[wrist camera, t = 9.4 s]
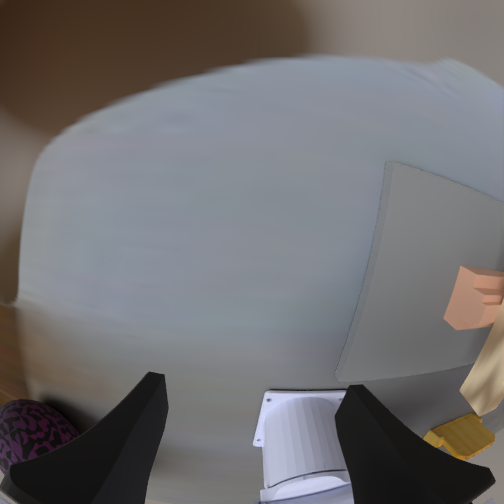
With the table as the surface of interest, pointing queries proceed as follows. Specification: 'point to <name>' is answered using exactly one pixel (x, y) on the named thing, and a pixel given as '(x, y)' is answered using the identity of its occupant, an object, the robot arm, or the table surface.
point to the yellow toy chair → (461, 436)
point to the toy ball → (31, 431)
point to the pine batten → (487, 371)
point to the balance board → (426, 279)
